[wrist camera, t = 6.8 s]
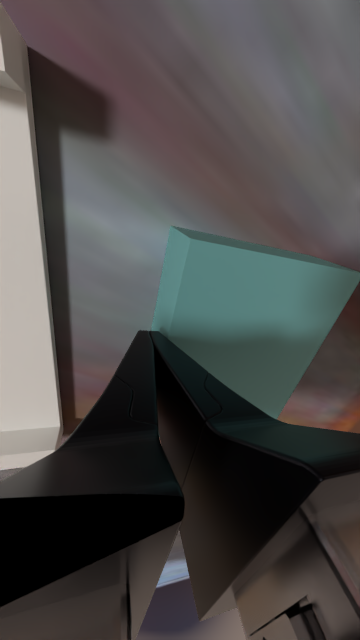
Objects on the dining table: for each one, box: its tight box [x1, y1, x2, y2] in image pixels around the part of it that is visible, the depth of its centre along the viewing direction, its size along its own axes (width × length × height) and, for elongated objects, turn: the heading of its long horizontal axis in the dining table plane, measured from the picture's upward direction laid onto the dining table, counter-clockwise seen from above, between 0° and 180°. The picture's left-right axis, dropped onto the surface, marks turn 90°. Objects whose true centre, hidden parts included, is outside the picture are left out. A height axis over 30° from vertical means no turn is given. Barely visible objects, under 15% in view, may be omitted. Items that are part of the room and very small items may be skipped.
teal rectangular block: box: [151, 226, 360, 437], centre depth 12 cm, size 10×8×4 cm
